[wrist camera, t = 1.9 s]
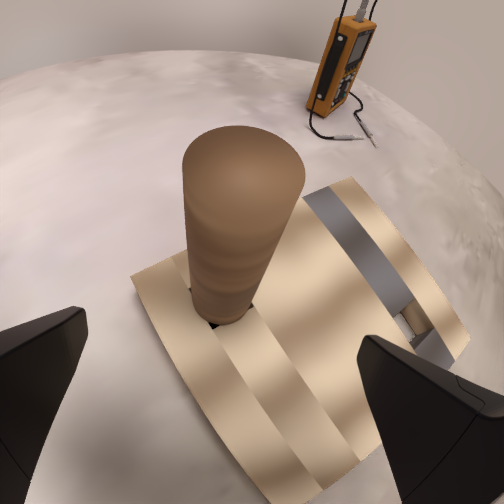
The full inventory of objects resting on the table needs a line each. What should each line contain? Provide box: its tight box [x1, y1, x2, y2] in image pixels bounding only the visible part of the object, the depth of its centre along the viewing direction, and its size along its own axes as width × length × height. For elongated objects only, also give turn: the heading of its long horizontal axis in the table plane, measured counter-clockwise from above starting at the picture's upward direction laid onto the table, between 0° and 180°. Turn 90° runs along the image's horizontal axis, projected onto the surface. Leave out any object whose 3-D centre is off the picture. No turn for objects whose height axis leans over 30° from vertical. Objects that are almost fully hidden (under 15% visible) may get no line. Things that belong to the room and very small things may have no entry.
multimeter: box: [306, 0, 378, 147], centre depth 26 cm, size 15×10×20 cm
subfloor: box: [130, 176, 471, 504], centre depth 20 cm, size 18×20×2 cm
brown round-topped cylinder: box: [182, 126, 305, 325], centre depth 15 cm, size 4×4×14 cm
